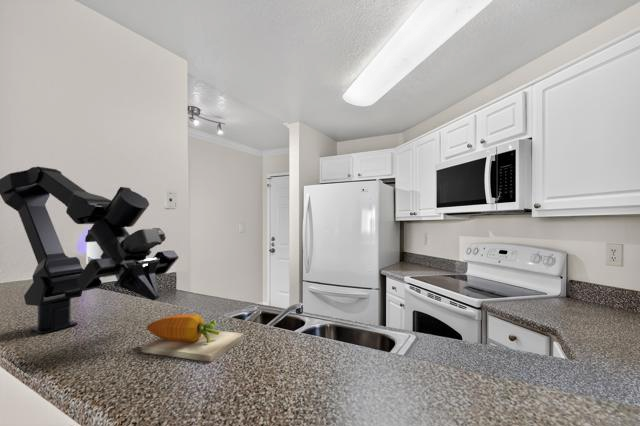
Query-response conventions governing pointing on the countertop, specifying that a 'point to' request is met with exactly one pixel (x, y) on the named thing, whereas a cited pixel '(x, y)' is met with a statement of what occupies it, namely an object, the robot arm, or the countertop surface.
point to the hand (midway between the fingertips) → (156, 298)
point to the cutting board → (195, 346)
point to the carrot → (182, 328)
